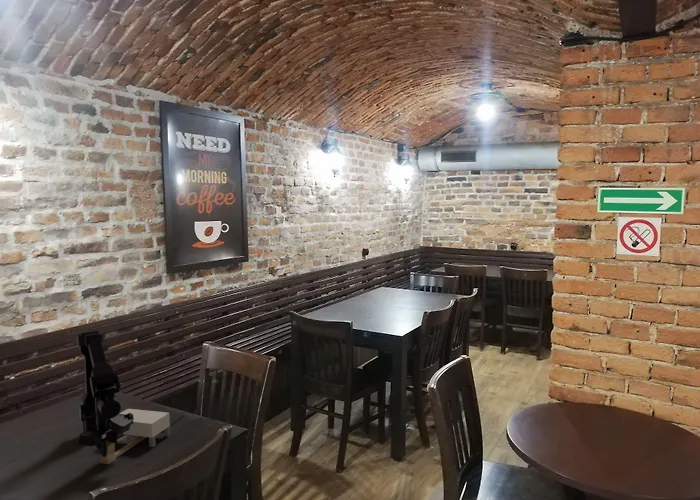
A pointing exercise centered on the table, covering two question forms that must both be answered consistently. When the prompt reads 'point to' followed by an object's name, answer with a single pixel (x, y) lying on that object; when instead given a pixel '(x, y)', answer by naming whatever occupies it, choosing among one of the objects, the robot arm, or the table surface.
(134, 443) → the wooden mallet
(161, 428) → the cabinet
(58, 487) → the table surface
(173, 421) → the bracket
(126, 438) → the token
